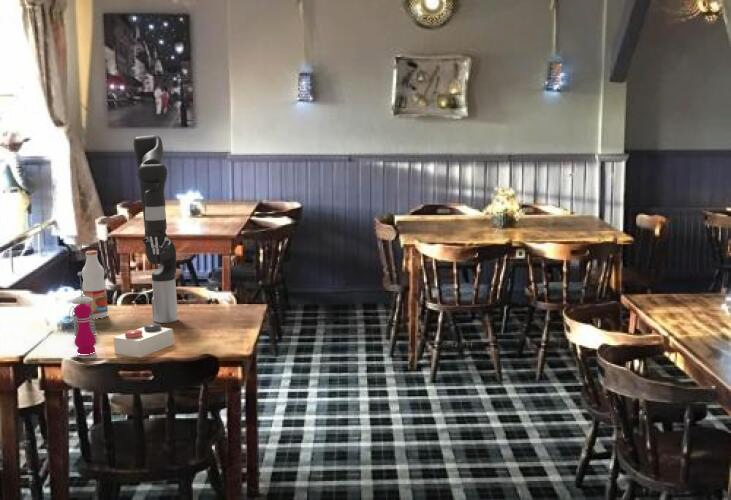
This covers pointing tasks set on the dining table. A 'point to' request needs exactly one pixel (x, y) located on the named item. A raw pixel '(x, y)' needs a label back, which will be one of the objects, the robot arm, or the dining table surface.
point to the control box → (143, 342)
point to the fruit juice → (95, 285)
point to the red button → (133, 334)
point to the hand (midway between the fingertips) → (158, 263)
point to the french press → (76, 301)
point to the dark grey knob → (152, 327)
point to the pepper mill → (84, 329)
